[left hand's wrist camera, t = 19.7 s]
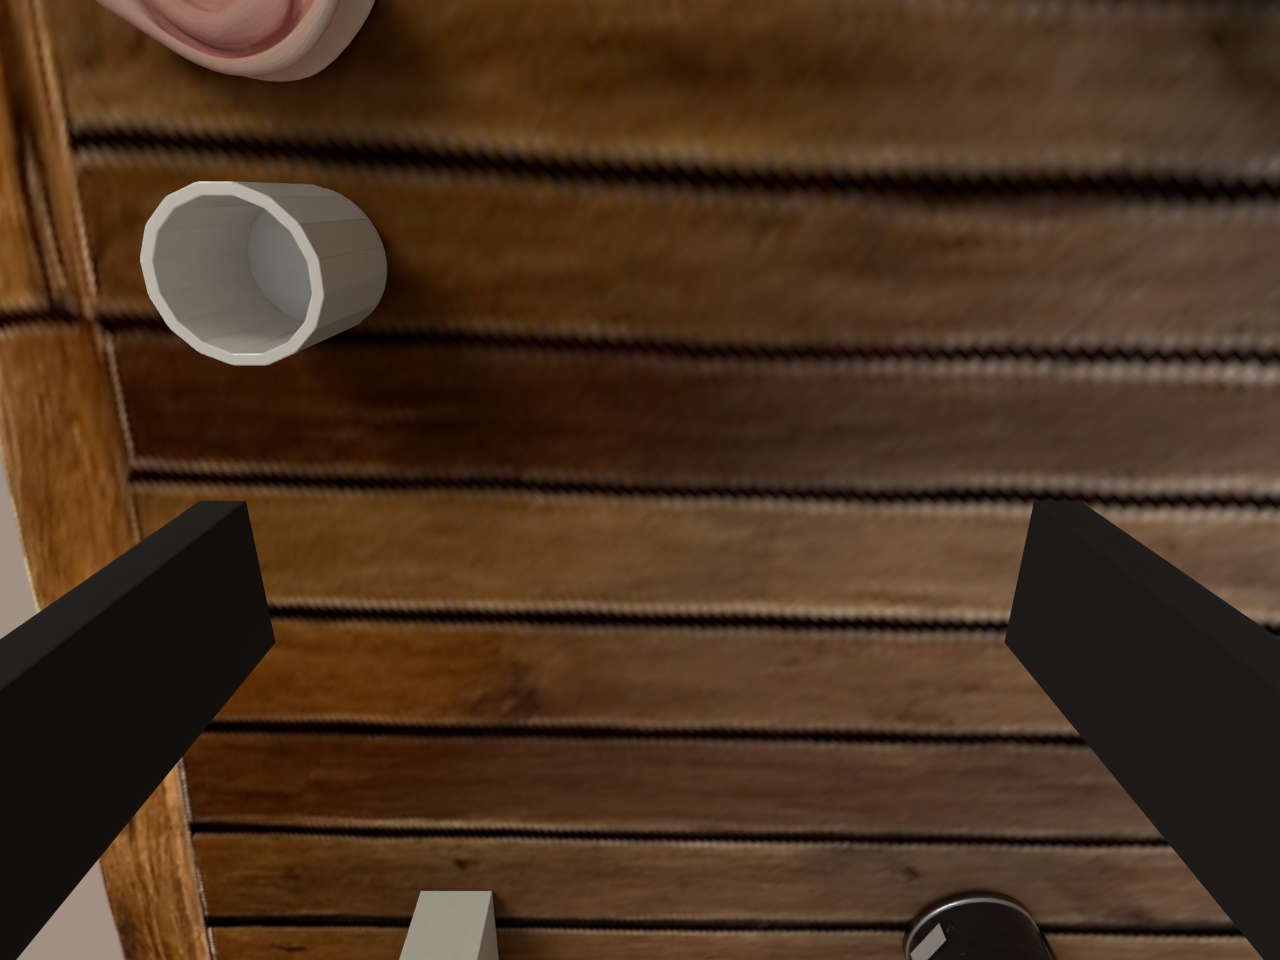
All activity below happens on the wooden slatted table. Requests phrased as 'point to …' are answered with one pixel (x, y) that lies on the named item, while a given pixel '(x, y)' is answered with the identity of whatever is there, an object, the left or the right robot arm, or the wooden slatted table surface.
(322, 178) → the wooden slatted table surface
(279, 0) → the anatomical model
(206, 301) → the white cup
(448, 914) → the grey bar
